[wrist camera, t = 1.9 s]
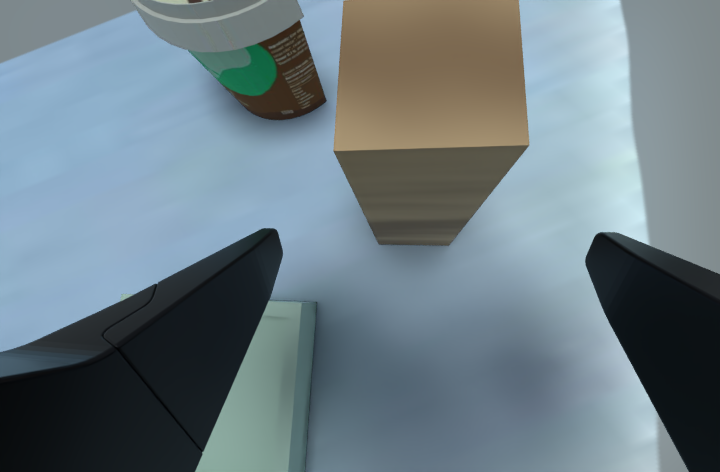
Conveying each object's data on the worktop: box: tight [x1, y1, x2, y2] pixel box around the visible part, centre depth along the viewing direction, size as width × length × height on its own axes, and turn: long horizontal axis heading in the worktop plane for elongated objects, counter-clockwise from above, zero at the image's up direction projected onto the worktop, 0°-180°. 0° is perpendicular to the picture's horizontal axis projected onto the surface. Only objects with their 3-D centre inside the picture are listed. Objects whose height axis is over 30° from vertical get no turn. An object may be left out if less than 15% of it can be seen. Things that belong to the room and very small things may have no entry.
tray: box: [121, 294, 317, 472], centre depth 18 cm, size 12×12×3 cm
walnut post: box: [334, 0, 529, 245], centre depth 14 cm, size 4×4×13 cm
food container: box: [130, 0, 326, 120], centre depth 19 cm, size 12×6×10 cm, turn 41°
